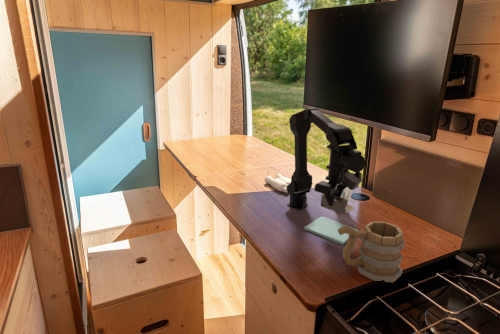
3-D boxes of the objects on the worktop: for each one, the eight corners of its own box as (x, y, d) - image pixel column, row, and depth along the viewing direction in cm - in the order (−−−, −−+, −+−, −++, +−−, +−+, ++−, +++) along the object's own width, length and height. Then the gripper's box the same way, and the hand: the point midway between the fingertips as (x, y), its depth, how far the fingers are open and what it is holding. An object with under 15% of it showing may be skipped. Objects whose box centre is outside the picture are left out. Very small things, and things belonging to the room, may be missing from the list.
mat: (304, 229, 130) (304, 226, 130) (321, 218, 139) (321, 216, 138) (342, 245, 120) (342, 242, 120) (358, 232, 128) (359, 230, 128)
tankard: (391, 258, 113) (398, 216, 108) (406, 283, 101) (414, 238, 96) (329, 256, 114) (333, 215, 109) (337, 281, 102) (342, 236, 97)
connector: (318, 205, 128) (319, 195, 127) (324, 202, 131) (325, 192, 129) (349, 216, 120) (350, 205, 119) (354, 212, 123) (356, 202, 121)
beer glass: (329, 208, 147) (332, 175, 142) (343, 205, 150) (346, 173, 145) (339, 215, 141) (342, 180, 136) (353, 212, 144) (357, 178, 139)
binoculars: (281, 180, 178) (281, 172, 177) (300, 191, 165) (301, 182, 164) (264, 184, 173) (264, 175, 171) (282, 195, 160) (283, 186, 158)
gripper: (345, 176, 109) (340, 220, 114) (371, 162, 122) (366, 202, 127) (315, 167, 116) (312, 209, 121) (343, 155, 129) (339, 194, 134)
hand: (333, 204), depth 126 cm, fingers closed on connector, 4 cm apart
